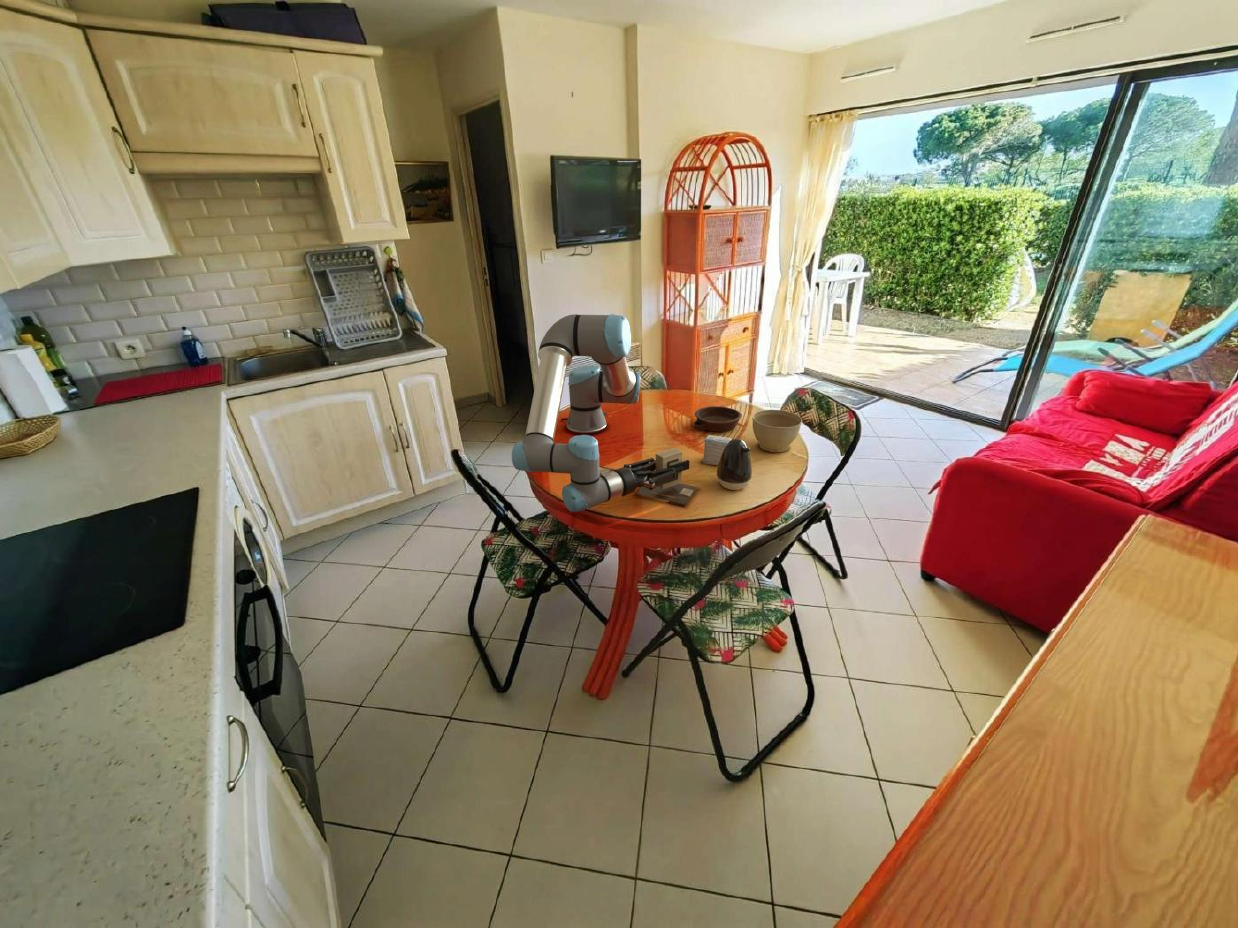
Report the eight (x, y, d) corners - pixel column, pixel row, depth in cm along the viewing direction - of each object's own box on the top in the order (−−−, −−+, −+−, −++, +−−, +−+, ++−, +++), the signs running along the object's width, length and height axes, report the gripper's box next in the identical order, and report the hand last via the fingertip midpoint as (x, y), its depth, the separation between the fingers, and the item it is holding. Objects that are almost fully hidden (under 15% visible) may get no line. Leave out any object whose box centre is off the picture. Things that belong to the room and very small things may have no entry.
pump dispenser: (730, 497, 146) (735, 449, 140) (708, 482, 155) (712, 436, 148) (758, 489, 151) (763, 442, 144) (735, 475, 159) (739, 430, 152)
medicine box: (730, 462, 167) (732, 437, 163) (726, 467, 163) (728, 443, 159) (706, 458, 170) (708, 434, 166) (702, 463, 166) (704, 439, 162)
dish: (754, 426, 194) (756, 414, 192) (711, 440, 183) (712, 427, 181) (722, 413, 207) (723, 401, 205) (680, 425, 196) (680, 413, 194)
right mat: (636, 495, 148) (636, 492, 148) (650, 479, 157) (650, 476, 157) (684, 507, 142) (685, 503, 142) (697, 489, 151) (697, 486, 151)
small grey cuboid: (681, 482, 150) (683, 451, 145) (663, 489, 146) (663, 458, 142) (673, 478, 152) (674, 447, 148) (655, 484, 149) (655, 453, 145)
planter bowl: (740, 441, 182) (743, 412, 177) (779, 435, 186) (783, 407, 181) (765, 460, 168) (769, 429, 163) (807, 453, 172) (812, 423, 167)
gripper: (601, 483, 146) (665, 462, 157) (635, 508, 133) (702, 484, 145) (600, 460, 143) (666, 440, 154) (634, 483, 130) (703, 460, 142)
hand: (683, 461), depth 149 cm, fingers closed on small grey cuboid, 4 cm apart
